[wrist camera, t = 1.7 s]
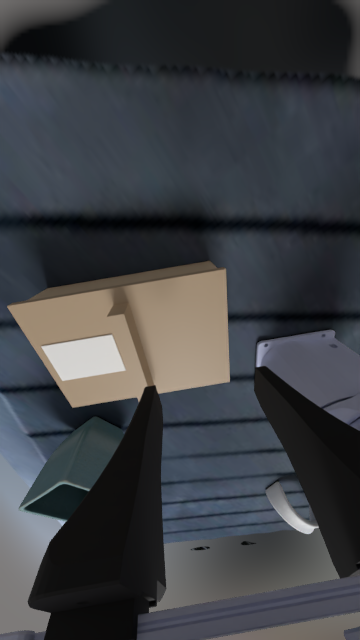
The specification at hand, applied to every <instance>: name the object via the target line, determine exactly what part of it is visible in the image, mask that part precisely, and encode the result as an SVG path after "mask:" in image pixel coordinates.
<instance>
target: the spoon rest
mask: <svg viewBox="0 0 360 640" xmlns="http://www.w3.org/2000/svg"><path fill="white" fill-rule="evenodd" d="M266 494H267V497H268V499H269V500H270V502H271V504H272V505H273V507H274V508H275V510H276V511H277V512H278V513H279V514H280V516H281V517H282V518H283V519H284V520H285V521H286V522H287V523H289V524H290V525H291V526H292V527H294V528H295V529H297V530H298V531H300V532H303V533H305V534H310V533H312V532H313V530H314V528H319V526H318V524H317V521H316V519H315V516H314V514H313V512H312V509H311V507H310V506H309V513H310V521H309V520H306V519H304V518H303V517H301V516H300V515H299V514H298V513H297V512H296V511H295V510H294V509H293V507H292V506H291V504H290V503H289V501H288V499H287V497H286V495H285V493H284V491H283V489H282V487H281V484H280V483H279V482H275V483H274V484H273V485H271V486H270V487H269V488H268V489H267V490H266Z"/></svg>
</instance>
